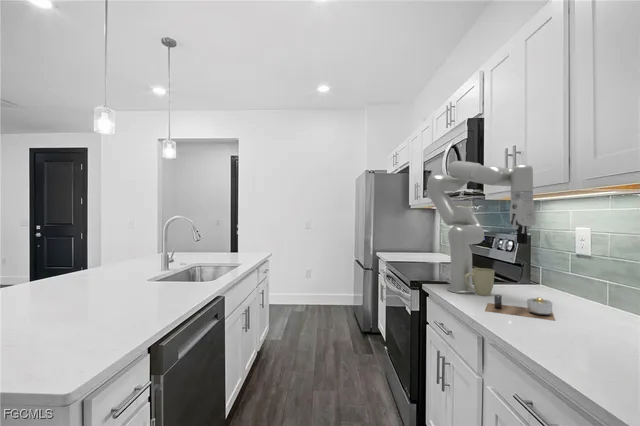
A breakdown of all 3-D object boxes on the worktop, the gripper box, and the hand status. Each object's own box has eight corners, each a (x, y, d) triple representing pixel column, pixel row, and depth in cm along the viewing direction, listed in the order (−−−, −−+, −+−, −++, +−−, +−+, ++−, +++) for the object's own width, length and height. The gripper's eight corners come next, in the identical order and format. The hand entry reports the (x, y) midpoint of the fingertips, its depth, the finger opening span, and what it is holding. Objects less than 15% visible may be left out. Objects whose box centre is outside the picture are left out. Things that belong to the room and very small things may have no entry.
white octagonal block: (525, 307, 120) (525, 297, 120) (547, 308, 118) (546, 299, 118) (531, 312, 113) (531, 302, 113) (554, 314, 111) (554, 304, 111)
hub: (526, 312, 117) (526, 296, 117) (539, 310, 119) (539, 295, 119) (540, 316, 112) (540, 300, 112) (553, 315, 113) (553, 299, 113)
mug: (475, 293, 151) (475, 267, 152) (498, 297, 144) (498, 269, 144) (464, 296, 144) (464, 269, 145) (487, 301, 137) (487, 272, 137)
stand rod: (493, 307, 123) (492, 295, 123) (498, 307, 123) (498, 294, 124) (497, 309, 121) (497, 296, 121) (503, 309, 121) (503, 296, 121)
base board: (484, 314, 119) (484, 311, 119) (487, 305, 130) (487, 302, 130) (555, 324, 108) (555, 320, 108) (552, 314, 119) (552, 310, 119)
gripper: (520, 195, 121) (520, 245, 121) (542, 197, 128) (542, 243, 128) (500, 197, 128) (501, 243, 127) (522, 197, 135) (523, 242, 135)
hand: (522, 243), depth 128 cm, fingers closed
